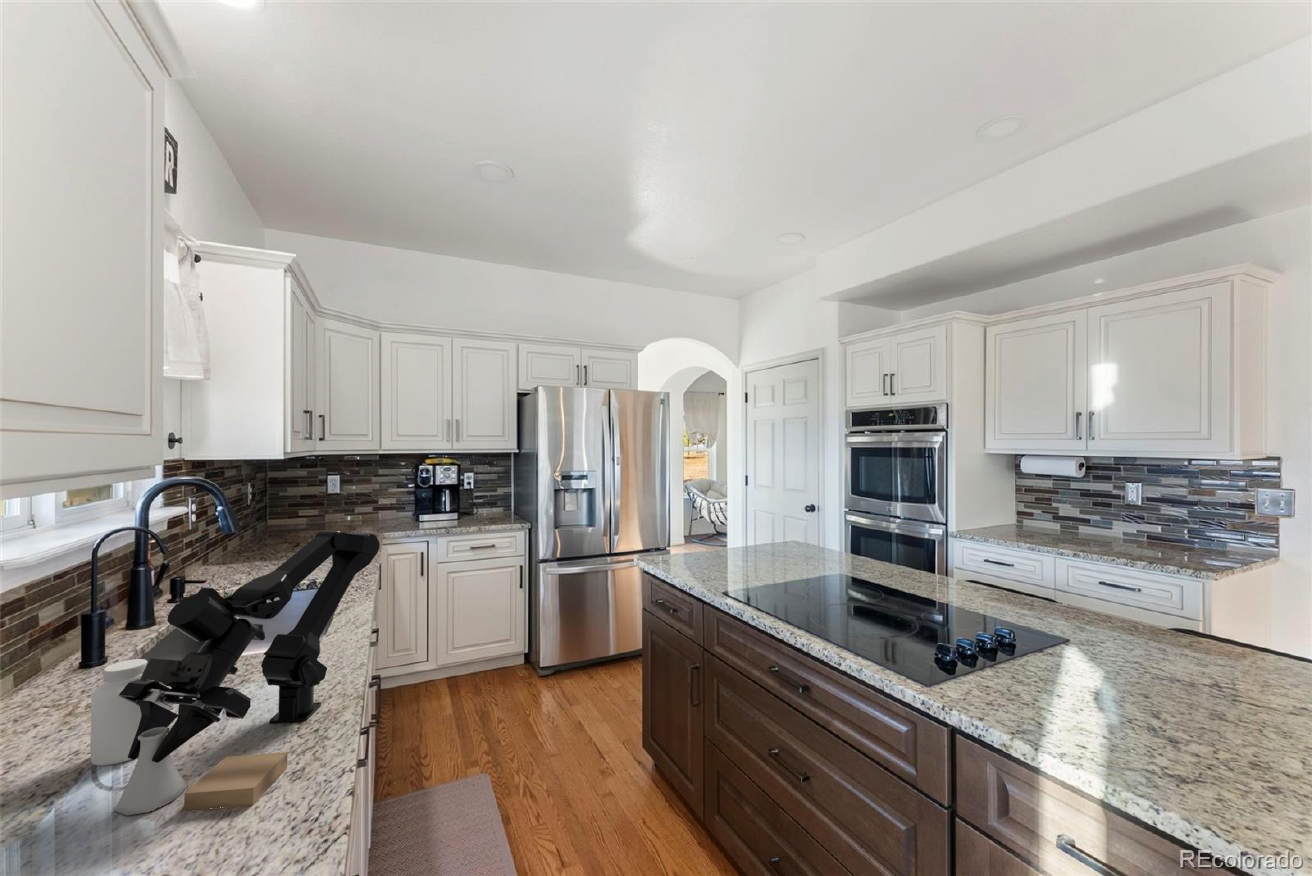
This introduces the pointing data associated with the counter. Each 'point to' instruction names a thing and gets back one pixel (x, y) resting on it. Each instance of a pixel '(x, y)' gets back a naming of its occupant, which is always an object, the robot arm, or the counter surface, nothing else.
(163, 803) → the flask
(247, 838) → the counter surface
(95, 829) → the counter surface
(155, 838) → the counter surface
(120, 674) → the pill bottle
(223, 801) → the square wooden block
